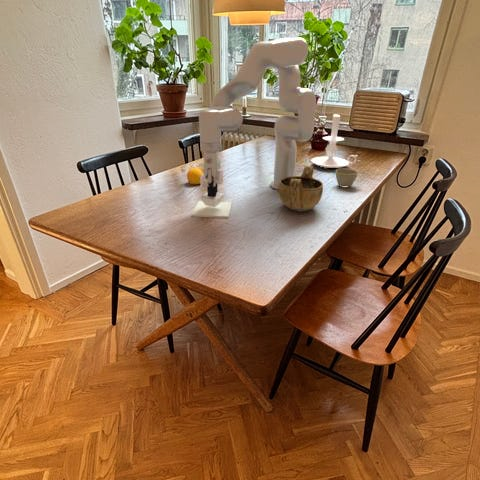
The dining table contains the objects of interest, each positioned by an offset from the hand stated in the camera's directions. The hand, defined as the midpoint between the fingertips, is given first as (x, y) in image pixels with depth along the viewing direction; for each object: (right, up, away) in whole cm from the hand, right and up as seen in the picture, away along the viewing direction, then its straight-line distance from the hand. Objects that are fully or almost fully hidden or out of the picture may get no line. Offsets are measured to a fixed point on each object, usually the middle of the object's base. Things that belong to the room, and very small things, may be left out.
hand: (212, 194), depth 126 cm
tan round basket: (+34, -5, +5) cm, 35 cm away
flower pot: (+60, +8, +29) cm, 67 cm away
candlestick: (+63, +23, +56) cm, 87 cm away
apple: (-11, +9, +31) cm, 34 cm away
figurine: (0, -4, +2) cm, 4 cm away
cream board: (0, -6, +3) cm, 7 cm away
